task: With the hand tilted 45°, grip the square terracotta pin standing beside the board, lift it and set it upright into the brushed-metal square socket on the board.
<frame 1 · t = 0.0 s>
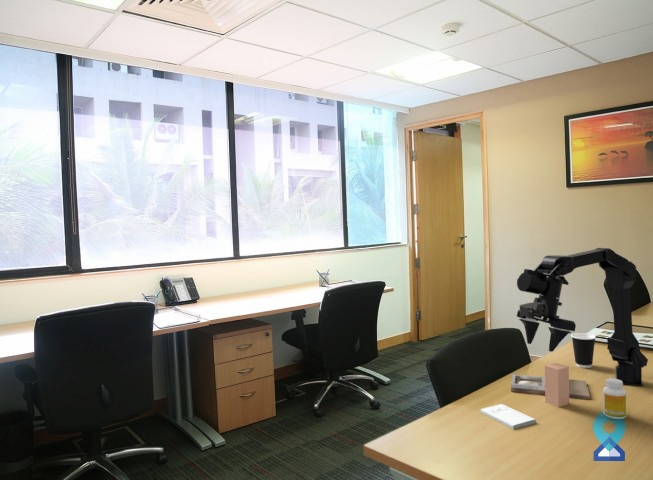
hand: (539, 347, 146), 15 cm above the table, tool pointing down, fingers open, 9 cm apart
layout board: (548, 387, 155), on the table
dixie cup: (583, 366, 174), on the table
terracotta pin: (557, 402, 143), on the table
supplement bottle: (614, 416, 132), on the table
external hard drive: (507, 420, 134), on the table
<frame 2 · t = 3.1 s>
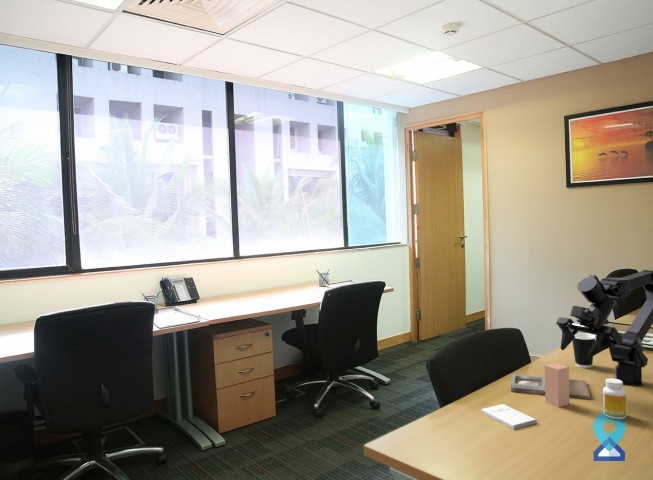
hand: (575, 353, 145), 14 cm above the table, tool tilted 45°, fingers open, 9 cm apart
nothing on the table moved.
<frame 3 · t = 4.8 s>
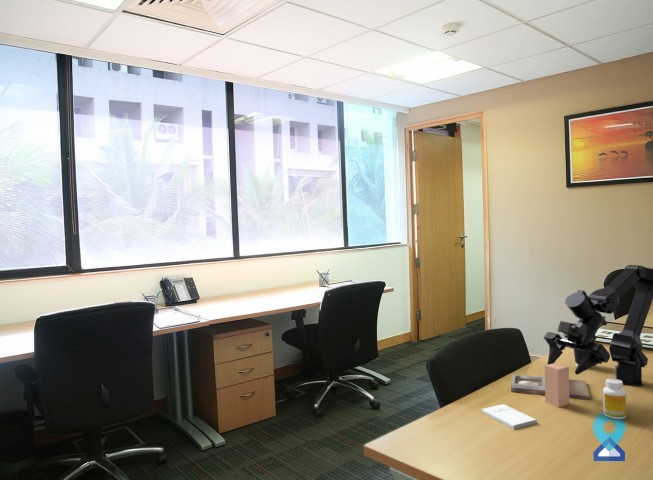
hand: (562, 369, 143), 10 cm above the table, tool tilted 45°, fingers open, 9 cm apart
nothing on the table moved.
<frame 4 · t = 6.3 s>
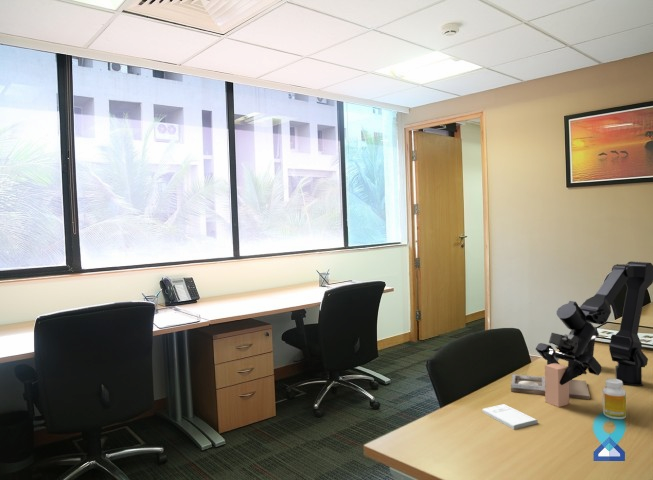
hand: (553, 381, 142), 7 cm above the table, tool tilted 45°, fingers closed on terracotta pin, 4 cm apart
terracotta pin: (557, 402, 143), on the table, touching gripper
everything else where it was.
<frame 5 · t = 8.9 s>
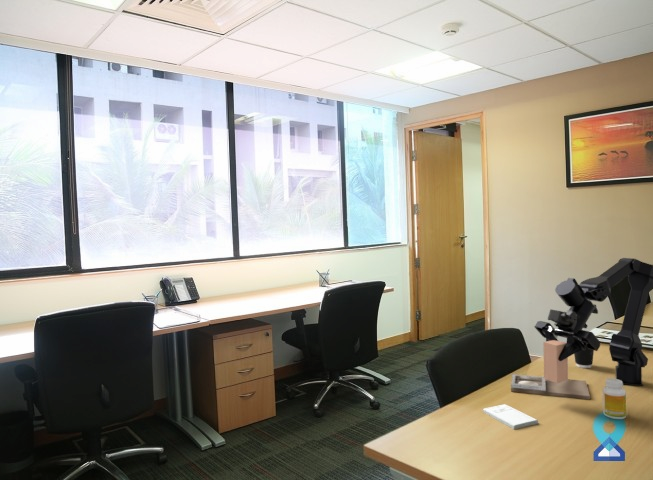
hand: (552, 358, 142), 14 cm above the table, tool tilted 45°, fingers closed on terracotta pin, 4 cm apart
terracotta pin: (555, 379, 142), point 7 cm above the table, touching gripper
everything else where it was.
when the fingers open (9 cm above the table, at t = 11.8 s): terracotta pin drops 1 cm, resting on layout board.
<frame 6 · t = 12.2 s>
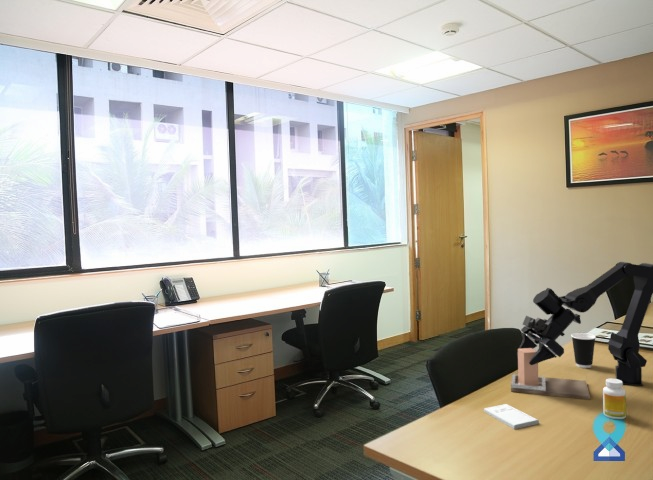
hand: (523, 359, 155), 9 cm above the table, tool tilted 45°, fingers open, 9 cm apart
terracotta pin: (528, 383, 156), point 1 cm above the table, touching layout board
everything else where it was.
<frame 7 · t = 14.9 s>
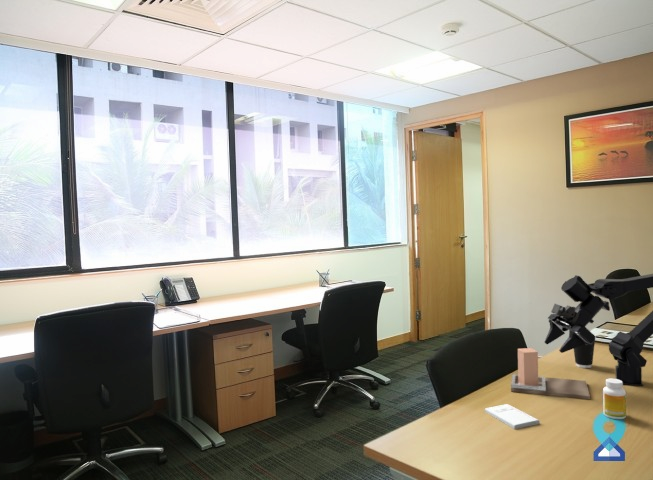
hand: (552, 347, 155), 13 cm above the table, tool tilted 45°, fingers open, 9 cm apart
nothing on the table moved.
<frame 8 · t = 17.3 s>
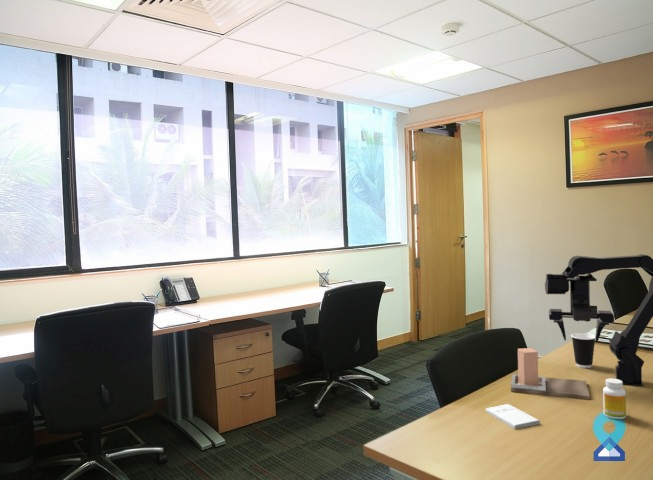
hand: (580, 341, 160), 13 cm above the table, tool pointing down, fingers open, 9 cm apart
at the end: terracotta pin 0.1 cm from the target spot on the layout board, point 1.1 cm above the layout board's base; terracotta pin tilted 0°; the gripper is holding nothing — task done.
